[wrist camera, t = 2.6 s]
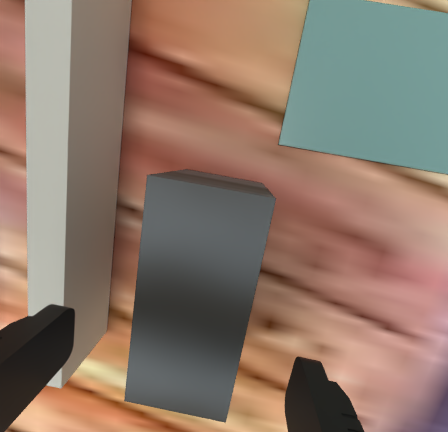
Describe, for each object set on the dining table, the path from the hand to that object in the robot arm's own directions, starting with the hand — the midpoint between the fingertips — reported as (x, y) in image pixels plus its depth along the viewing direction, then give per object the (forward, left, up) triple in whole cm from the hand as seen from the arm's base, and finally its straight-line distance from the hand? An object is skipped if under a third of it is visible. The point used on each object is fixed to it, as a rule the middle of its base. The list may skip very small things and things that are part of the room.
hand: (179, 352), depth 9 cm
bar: (0, 0, -9) cm, 9 cm away
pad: (-12, +10, -9) cm, 18 cm away
